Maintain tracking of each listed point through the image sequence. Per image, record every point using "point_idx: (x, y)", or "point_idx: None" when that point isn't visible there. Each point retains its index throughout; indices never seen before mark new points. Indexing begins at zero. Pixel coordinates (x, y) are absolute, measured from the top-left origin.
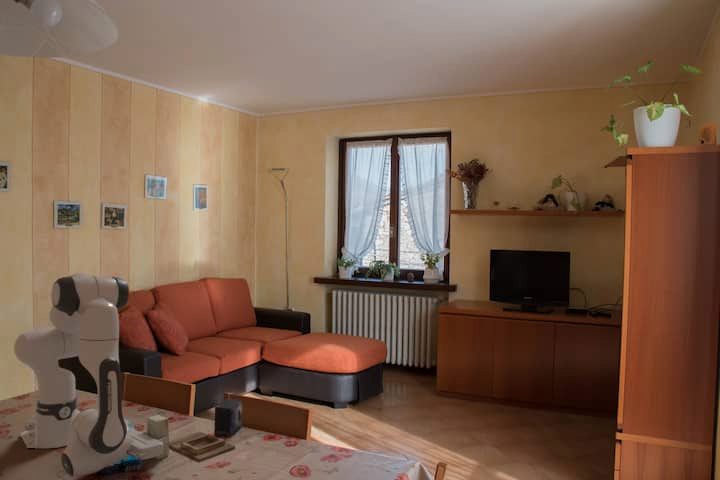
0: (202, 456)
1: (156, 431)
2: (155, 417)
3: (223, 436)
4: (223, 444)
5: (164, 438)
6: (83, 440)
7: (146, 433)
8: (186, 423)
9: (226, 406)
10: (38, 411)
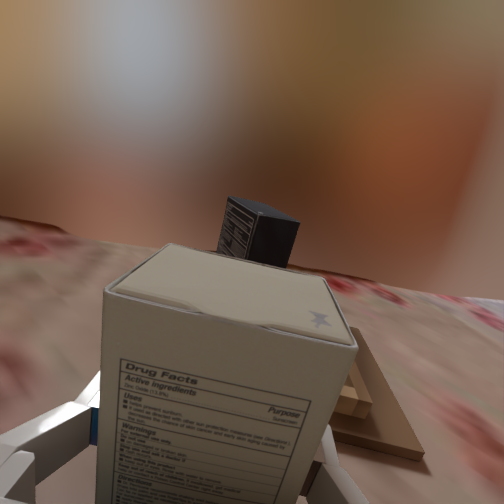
0: (399, 424)
1: (309, 445)
2: (212, 276)
3: None
4: None
5: (334, 455)
6: None
7: (66, 431)
8: (96, 258)
9: (280, 215)
10: None
